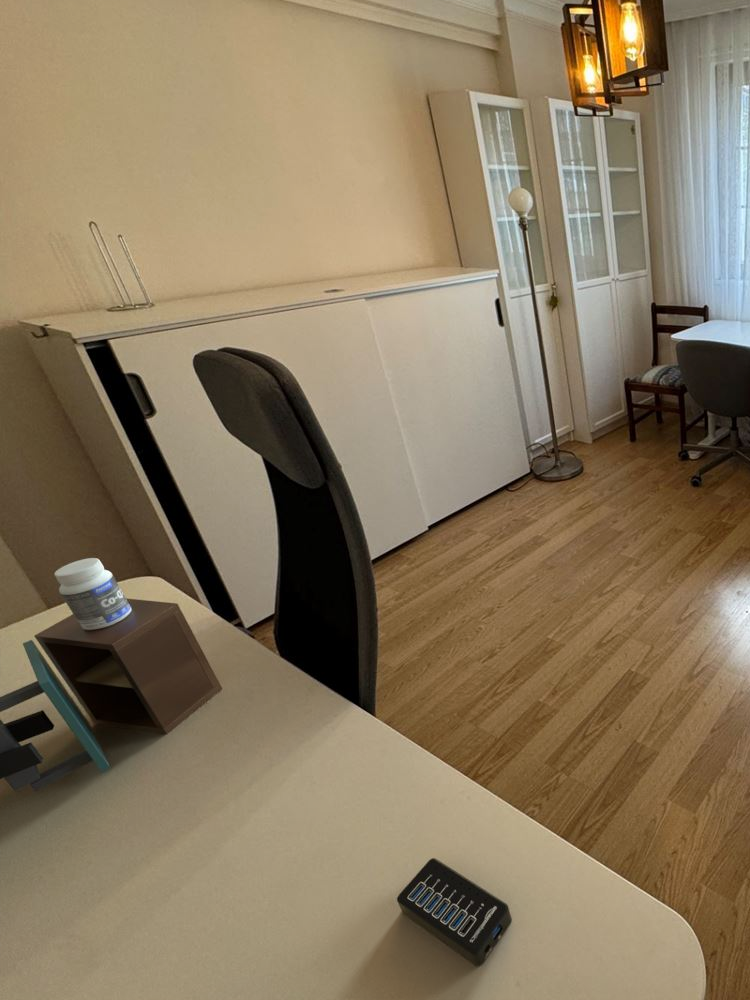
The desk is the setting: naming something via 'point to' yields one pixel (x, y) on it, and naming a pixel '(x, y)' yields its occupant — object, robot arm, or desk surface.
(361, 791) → the desk surface
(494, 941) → the multiport hub
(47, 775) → the door
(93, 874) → the desk surface
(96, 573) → the pill bottle
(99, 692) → the cabinet
